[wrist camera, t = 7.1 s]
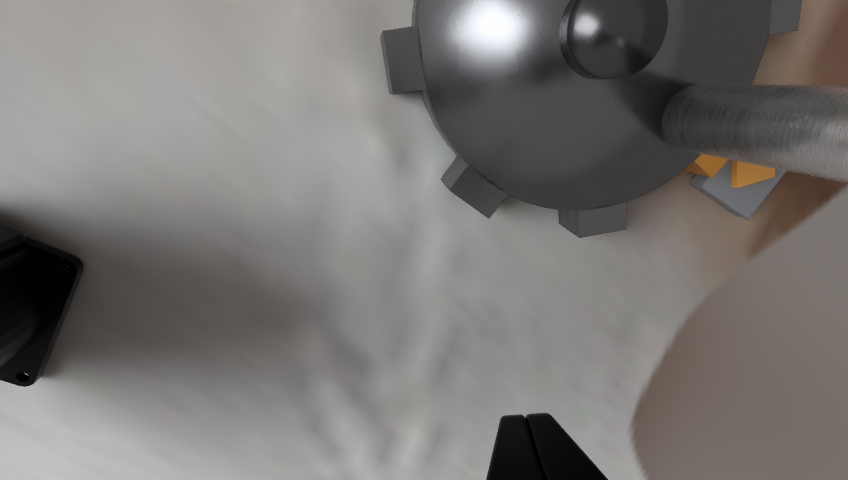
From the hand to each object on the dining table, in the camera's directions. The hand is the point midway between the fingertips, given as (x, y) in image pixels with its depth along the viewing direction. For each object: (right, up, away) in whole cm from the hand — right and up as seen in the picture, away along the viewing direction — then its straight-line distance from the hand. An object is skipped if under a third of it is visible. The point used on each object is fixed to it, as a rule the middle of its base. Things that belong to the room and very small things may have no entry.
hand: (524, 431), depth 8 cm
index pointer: (+13, +7, +12) cm, 19 cm away
